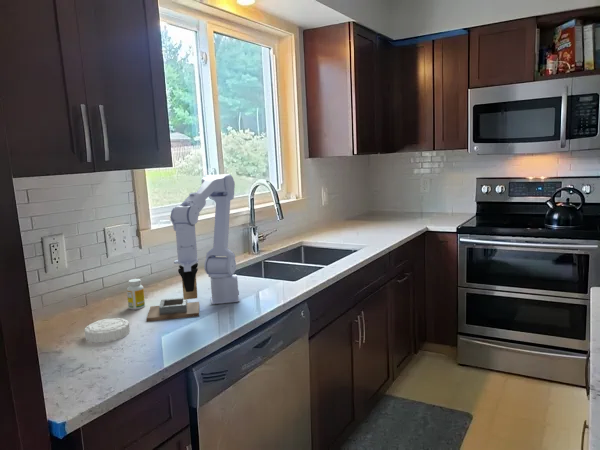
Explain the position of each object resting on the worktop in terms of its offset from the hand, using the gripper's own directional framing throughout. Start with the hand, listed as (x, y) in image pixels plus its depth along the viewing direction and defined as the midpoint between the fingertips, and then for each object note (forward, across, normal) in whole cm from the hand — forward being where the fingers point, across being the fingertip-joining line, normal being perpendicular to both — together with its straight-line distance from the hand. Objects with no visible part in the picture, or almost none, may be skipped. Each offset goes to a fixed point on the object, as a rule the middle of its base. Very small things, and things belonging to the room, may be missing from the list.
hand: (190, 289), depth 141 cm
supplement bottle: (+11, -21, -19) cm, 30 cm away
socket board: (+10, -11, -6) cm, 16 cm away
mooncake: (+11, +3, -24) cm, 27 cm away
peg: (+2, 0, 0) cm, 2 cm away
